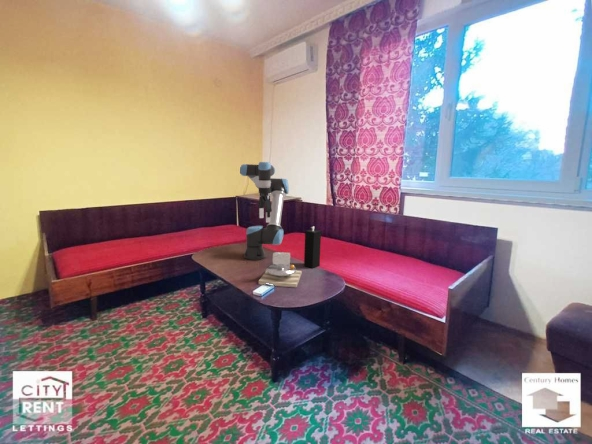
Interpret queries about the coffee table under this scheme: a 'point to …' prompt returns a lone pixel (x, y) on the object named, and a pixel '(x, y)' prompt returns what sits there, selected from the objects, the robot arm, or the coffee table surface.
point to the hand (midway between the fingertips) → (264, 220)
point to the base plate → (281, 279)
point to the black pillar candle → (312, 248)
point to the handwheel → (281, 265)
